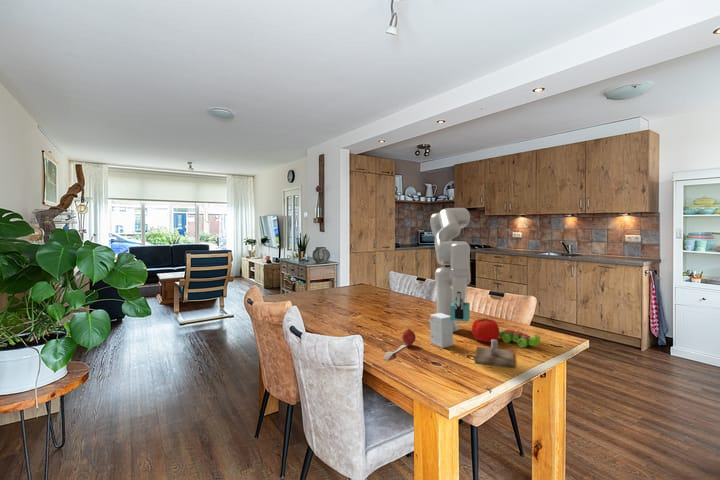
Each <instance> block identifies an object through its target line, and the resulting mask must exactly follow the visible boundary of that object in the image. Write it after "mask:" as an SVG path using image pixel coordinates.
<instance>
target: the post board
mask: <svg viewBox="0 0 720 480" xmlns="http://www.w3.org/2000/svg"><path fill="white" fill-rule="evenodd" d="M498 346H499V343H498V339H496V340H495V339H492V340H491V342H490V347H483V346H476V349H475V357H474V363H475V364H479V365H488V366H494V367H495V366H497V367H503V368H513V369H515V367H516V366H515V358H514V350H511V349H501V348H499V347H498Z"/></svg>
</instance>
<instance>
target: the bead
mask: <svg viewBox="0 0 720 480" xmlns="http://www.w3.org/2000/svg"><path fill="white" fill-rule="evenodd" d="M460 304H461V303H460ZM455 305H456V302H452V303H451V305H450V320H454V321H456V322H468V323H469V321H470V315H471V311H470V310H471V307H470V306H471V302H466V301H465V302H463V319H456V318H455Z"/></svg>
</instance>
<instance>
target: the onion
mask: <svg viewBox="0 0 720 480" xmlns="http://www.w3.org/2000/svg"><path fill="white" fill-rule="evenodd" d="M401 336H402V338H401V339H402V341H403V343H404V344H405V345H407V347H411V346H412V345H413V344H414V343H415V342H416V334H415V332H414V330H411V328H409V327H408V328H407V329H406V330H405V331H403V333H402V335H401Z"/></svg>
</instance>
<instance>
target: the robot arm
mask: <svg viewBox="0 0 720 480" xmlns="http://www.w3.org/2000/svg"><path fill="white" fill-rule="evenodd" d="M470 219H471V215H470V211H469V210H468V209H467V208H465V207H447V208H443V209H441V210H440V211H439V212H436V213H433V214H432V215H431V216H430V219H429V222H430V223H429V224H430V229H431V232H432V235H433V236H434V237H433V238H434V248H435V254H436V256H435V257H436V260H437V264H438V265H441V266H442V267H438V268H436V270H435V271H434V280H435V286H436V287H435V289H436V314H437V313H443V314H446V315H449V316H450V305H451V303H452V302H456V305H455V318H456V319H463V302H465V303H466V298H467V290H468V289H467V288H468V286H469V285H470V283H471V281H472V279H471V265H470V264H471V259H470V258H471V256H470V255H471V245H470V244H469V243H468V242H467V241H463V240H461V241H459V240H458V241H453V239H456V238H457V237H458V236H459V235H460V234H461V230H462V229H463V228H465V227H467V226H468V225H469V224H470ZM451 287H452V288H451ZM460 303H461V304H460ZM428 323H429V324H430V318H428ZM458 331H460V326H459V325H457V321H454V320H453V333H454V332H458Z"/></svg>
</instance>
